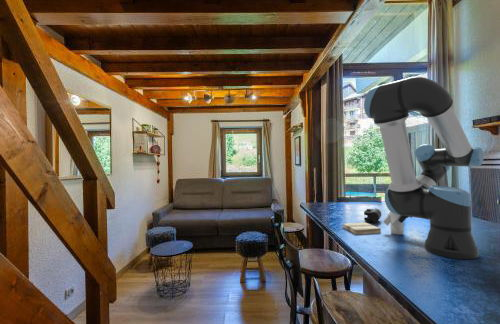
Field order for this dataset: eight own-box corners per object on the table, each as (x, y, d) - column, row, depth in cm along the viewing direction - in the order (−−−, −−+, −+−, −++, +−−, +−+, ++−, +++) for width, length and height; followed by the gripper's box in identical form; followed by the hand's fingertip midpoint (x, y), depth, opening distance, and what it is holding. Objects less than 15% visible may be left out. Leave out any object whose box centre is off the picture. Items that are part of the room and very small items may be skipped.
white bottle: (406, 234, 110) (405, 200, 110) (396, 234, 109) (395, 200, 109) (398, 231, 115) (397, 198, 115) (388, 231, 114) (387, 199, 114)
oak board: (380, 232, 114) (380, 228, 114) (356, 234, 113) (356, 230, 113) (365, 226, 126) (365, 222, 126) (343, 227, 125) (343, 223, 125)
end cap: (379, 225, 128) (378, 212, 128) (364, 223, 132) (363, 210, 132) (381, 220, 136) (381, 208, 136) (367, 219, 140) (367, 207, 140)
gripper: (444, 195, 105) (410, 236, 103) (411, 190, 123) (381, 225, 121) (433, 183, 104) (398, 224, 102) (401, 180, 122) (371, 215, 120)
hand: (389, 225), depth 112 cm, fingers closed on white bottle, 5 cm apart
